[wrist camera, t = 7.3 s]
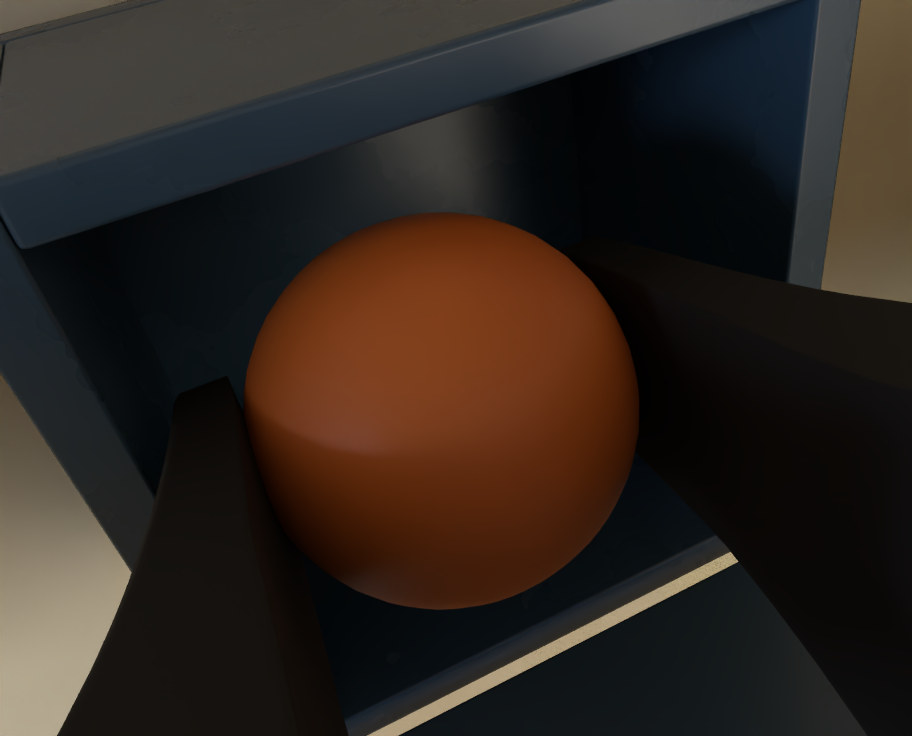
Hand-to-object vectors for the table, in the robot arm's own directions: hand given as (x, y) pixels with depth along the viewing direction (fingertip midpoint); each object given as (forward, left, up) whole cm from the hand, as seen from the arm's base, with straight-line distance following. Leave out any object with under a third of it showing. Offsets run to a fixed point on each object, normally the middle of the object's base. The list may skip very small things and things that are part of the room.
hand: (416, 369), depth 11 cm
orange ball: (0, 0, +1) cm, 1 cm away
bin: (+1, -1, -6) cm, 6 cm away
